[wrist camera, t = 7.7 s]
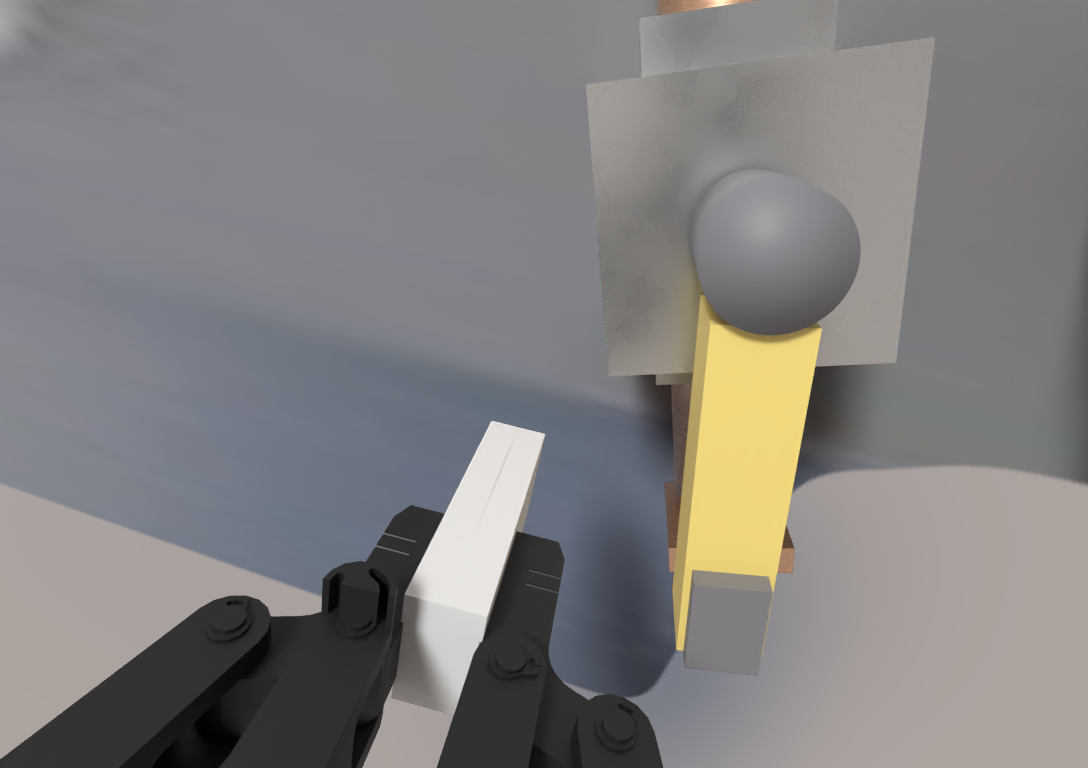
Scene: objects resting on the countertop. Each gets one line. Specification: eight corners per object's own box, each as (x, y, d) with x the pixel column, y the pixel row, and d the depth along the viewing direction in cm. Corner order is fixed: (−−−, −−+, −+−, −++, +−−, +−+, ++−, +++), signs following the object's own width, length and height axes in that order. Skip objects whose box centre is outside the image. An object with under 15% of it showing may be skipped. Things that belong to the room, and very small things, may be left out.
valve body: (855, -250, 18) (999, -496, 11) (806, 502, 28) (862, 637, 21) (584, -191, 19) (550, -373, 12) (632, 504, 30) (628, 630, 22)
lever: (693, 167, 15) (708, 183, 12) (826, 168, 15) (881, 184, 12) (659, 573, 21) (663, 665, 17) (756, 582, 20) (780, 678, 17)
